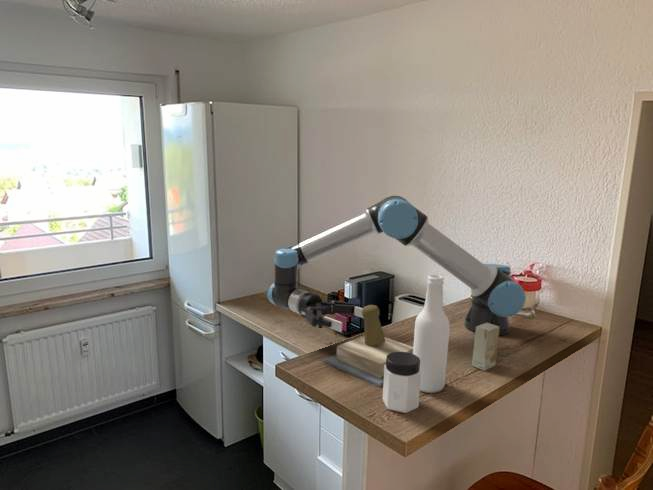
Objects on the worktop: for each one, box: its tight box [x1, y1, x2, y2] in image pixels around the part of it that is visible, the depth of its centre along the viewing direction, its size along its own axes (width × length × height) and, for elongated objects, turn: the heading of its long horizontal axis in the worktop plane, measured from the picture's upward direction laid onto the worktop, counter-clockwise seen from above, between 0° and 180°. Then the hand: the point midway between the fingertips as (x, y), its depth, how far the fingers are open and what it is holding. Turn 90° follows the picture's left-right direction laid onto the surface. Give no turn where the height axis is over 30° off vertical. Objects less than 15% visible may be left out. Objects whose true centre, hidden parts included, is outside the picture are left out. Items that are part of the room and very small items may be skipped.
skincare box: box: [471, 323, 500, 371], centre depth 143 cm, size 6×4×12 cm
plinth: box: [323, 334, 413, 387], centre depth 144 cm, size 22×20×5 cm
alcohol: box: [412, 274, 451, 394], centre depth 128 cm, size 9×9×30 cm
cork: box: [362, 304, 385, 346], centre depth 145 cm, size 6×6×11 cm
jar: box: [382, 352, 421, 414], centre depth 120 cm, size 9×8×12 cm
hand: (357, 321), depth 142 cm, fingers open, 13 cm apart
